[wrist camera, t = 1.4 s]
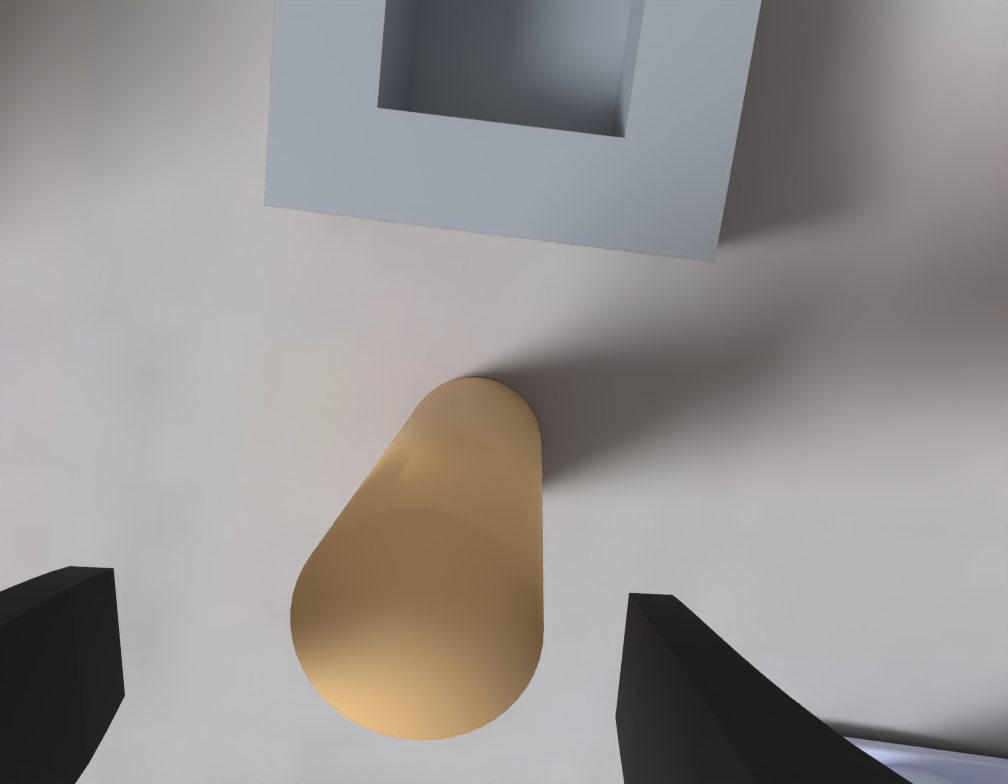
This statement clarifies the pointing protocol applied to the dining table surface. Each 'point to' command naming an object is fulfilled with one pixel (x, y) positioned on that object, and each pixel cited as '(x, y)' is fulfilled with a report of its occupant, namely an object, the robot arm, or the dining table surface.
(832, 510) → the dining table surface
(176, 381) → the dining table surface
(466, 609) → the peg
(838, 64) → the dining table surface
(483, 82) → the socket block
